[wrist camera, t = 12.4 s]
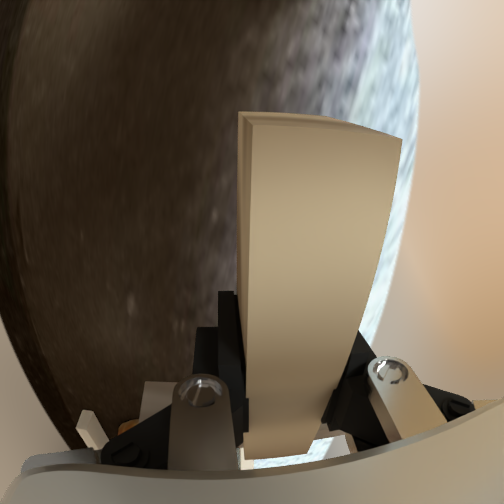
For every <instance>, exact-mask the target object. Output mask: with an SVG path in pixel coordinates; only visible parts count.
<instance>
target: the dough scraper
mask: <svg viewBox="0 0 504 504" xmlns="http://www.w3.org/2000/svg"><path fill="white" fill-rule="evenodd" d="M401 146H402V139H400V138H397V137H394V136H391V135H389V134H385V133H382V132H379V131H376V130H373V129H370V128H366V127H363V126H360V125H356V124H353V123H349V122H346V121H342V120H338V119H334V118H330V117H327V116H318V115H307V114H293V113H276V112H238V167H237V295H238V304H239V313H240V321H241V330H242V338H243V346H244V354H245V365H246V398H249V432H247V433H243V438H244V442H243V443H242V444H241V445H240V446H239V447H237V448H243V449H244V459H245V460H255V459H267V458H277V457H286V456H293V455H301V454H307V452H308V450H309V448H310V446H311V444H312V442H313V440H317V439H323V438H329V437H334V436H339V435H344V434H345V433H346V432H343V431H341V430H336V431H331V432H329V429H328V426H327V423H326V424H322V423H321V418H322V416H323V414H324V411H325V409H326V406H327V404H328V402H329V399H330V397H331V394H332V392H333V389H336V388H337V386H338V383H339V381H340V378H341V376H342V373H343V371H344V368H345V365H346V363H347V360H348V357H349V355H350V352H351V349H352V346H353V344H354V341H355V338H356V335H357V332H358V329H359V326H360V323H361V320H362V317H363V314H364V311H365V308H366V304H367V301H368V298H369V294H370V291H371V288H372V284H373V281H374V277H375V273H376V270H377V266H378V262H379V258H380V254H381V250H382V246H383V242H384V238H385V234H386V229H387V225H388V220H389V216H390V211H391V206H392V201H393V195H394V190H395V185H396V179H397V173H398V167H399V160H400V153H401ZM177 383H178V382H152V381H145V385H144V391H143V397H142V404H141V410H140V417H139V423H140V422H142V421H144V420H145V419H147V418H149V417H150V416H152V415H154V414H155V413H157V412H159V411H160V410H162V409H164V408H165V407H167V406H169V405H170V404H172V395H173V390H174V387H175V385H176V384H177Z"/></svg>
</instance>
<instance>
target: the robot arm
mask: <svg viewBox="0 0 504 504" xmlns="http://www.w3.org/2000/svg"><path fill="white" fill-rule="evenodd" d="M321 423H322V424H326V423H327V426H328V429H329V432H331V431H336V430H341V431H343V432H346V433H345V437H346V441H347V444H348V447H349V450H350V453H351V454H349V455H344V456H340V457H336V458H330V459H326V460H320V461H314V462H308V463H302V464H295V465H288V466H280V467H271V468H261V469H248V470H239V468H238V461H237V453H236V448H237V447H239V446H240V445H241V444H242V443H243V442H244V438H243V433H247V432H249V398H246V365H245V354H244V346H243V338H242V330H241V321H240V313H239V304H238V295H234V291H218V327H197V332H196V342H195V352H194V362H193V373H192V375H190V376H187V377H185V378H183V379H181V380H180V381H179V382H178V383H177V384H176V385H175V387H174V390H173V395H172V404H170V405H169V406H167V407H165V408H164V409H162V410H160V411H159V412H157V413H155V414H154V415H152V416H150V417H149V418H147V419H145V420H144V421H142V422H140V423H139V424H137V425H135V426H134V427H132V428H130V429H128V430H127V431H125V432H123V433H121V434H119V435H118V436H116V437H114V438H112V439H111V440H110V441H108V442H107V443H106V444H105V445H104V447H103V448H102V449H99V450H94V448H93V447H90V448H84V449H78V450H71V451H64V452H56V453H48V454H39V455H34V456H31V457H29V458H28V459H27V460H25V462H24V463H23V465H22V468H21V474H20V475H18V476H17V477H16V478H15V479H14V480H13V481H12V483H11V484H10V485H9V487H8V488H7V490H6V492H5V494H4V496H3V498H2V500H1V502H0V504H504V397H502V398H500V399H496V400H473V401H472V402H470V401H469V400H468V399H467V398H464V397H462V396H460V395H456V394H453V393H450V392H447V391H443V390H440V389H437V388H434V387H431V386H428V385H424V384H422V383H421V381H420V380H419V378H418V377H417V375H416V374H415V372H414V371H413V370H412V368H411V367H410V366H409V365H408V364H407V363H406V362H405V361H403V360H401V359H399V358H396V357H390V356H382V357H378V358H377V357H376V355H375V354H374V352H373V351H372V349H371V348H370V346H369V345H368V343H367V342H366V341H365V339H364V338H363V336H362V335H361V333H360V332H359V330H358V332H357V335H356V338H355V341H354V344H353V346H352V349H351V352H350V355H349V357H348V360H347V363H346V365H345V368H344V371H343V373H342V376H341V378H340V381H339V383H338V386H337V388H336V389H333V392H332V394H331V397H330V399H329V402H328V404H327V406H326V409H325V411H324V414H323V416H322V418H321Z"/></svg>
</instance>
